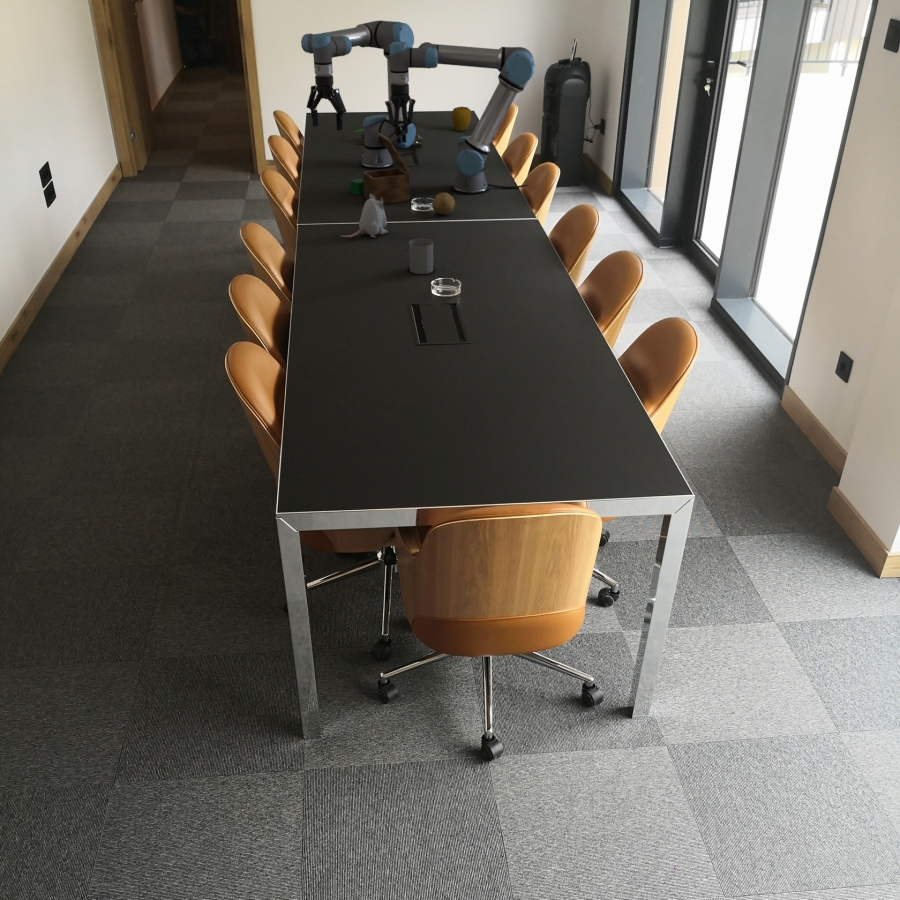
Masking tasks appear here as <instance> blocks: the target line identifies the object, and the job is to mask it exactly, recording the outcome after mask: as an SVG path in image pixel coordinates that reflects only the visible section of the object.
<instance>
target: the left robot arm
mask: <svg viewBox="0 0 900 900" xmlns="http://www.w3.org/2000/svg"><path fill="white" fill-rule="evenodd" d="M392 42H407V43H408V46H409V47H410V48H414V45H415V35H414V32H413V29H412V28H411V26H410V25H409V24H408V23H406V22H401V21H391V20H373V21H369V22H368V21H367V22H364V23H359V24H357V25H356V26H355V27H350V28H344V29H338V30H332V31H325V32H320V33H305V34H303V35H302V36H301V39H300V46H301V50H303V52H305V53H307V54H310V55H311V54H312V55H313V69H314V75H315V76H314V82H315V85H311V86H310V93H309V96H308V99H307V103H306V109H309V110H310V116H311V120H312V127H314V128H316V127H319V113H318V109H317V108H318V105H319V104H320V102H321V101H322V100H323V99H324V100H328V102H329V103H330V104H331V106H332V108H333V109H334V110H335V112H336V114H335V118H336V119H335V120H336V121H335V122H336V131H338V132H339V131H343V123H344V114H346V113H347V109H346V106H345V104H344V101H343V98H342V96H341V93H340V88H334V75H333V74H334V69H333V58H338V57H345V56H347V55H349V54H350V53H351V52H352V48H355V47H360V48H374V49H379V50H383V53H382V54H383V56H384V57H385V58H386V68H387V70H386V71H387V96H388V97H387V98H388V100H390V97H391V84H392V83H391V76H390V44H391V43H392ZM388 100H387V101H388ZM391 107H392V112H393V118H394V110H395V109H394V104H393V103H392V105H391ZM407 119H408V113H407ZM402 125H404V124H403V116H402V108H401V107H400V110H399V127H400V128H401V129H402ZM416 128H417V127H416V126H415V124H414V123H412V124H409V126H408V134H406V143H404V142H402V136H401V143H398V142H397V140H396V141H394V142H393V145H394V147H395V148H398V149H407V148H409V147H411V146H412V145H413V142H414V141H415V139H416V136H417V129H416ZM362 129H364V131H363V133H364V139H363V142H365V144H364V151H363V153H361V157H362V159H361V166H362V167H363V168H366V169H371V170H383V169H389V168H390V167H392V166H394V160H393V158H392V157H391V155H390V154H389V152H388V150H387V149H386V147H385V145H384V144H383V142H382V140H381V139H380V137H379V136H378V133H381V134H383V135H384V136H386V137H388V136H389V135H391V134H392V133H393V132H394V126H392V125H390V122H389V116H388V114H374V115H370V116H366V117H365V118H364V119H363V128H362ZM400 134H401V133H400ZM396 137H397V135H395V134H394V135H393V136H391V137H390V140H391V141H392V140H393V139H395V138H396ZM399 155H400V157H403V156H407V155H412V151H408V152H403V153H399Z"/></svg>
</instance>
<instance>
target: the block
mask: <svg viewBox="0 0 900 900" xmlns="http://www.w3.org/2000/svg"><path fill="white" fill-rule="evenodd" d="M349 188H350V190H349V191H350V195H351V194H353V195H355V196H364V185H363V178H356V179H351V180H349Z"/></svg>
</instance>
